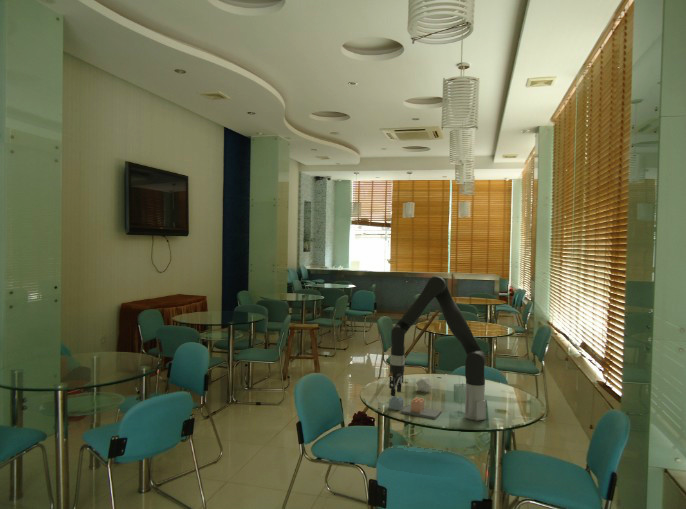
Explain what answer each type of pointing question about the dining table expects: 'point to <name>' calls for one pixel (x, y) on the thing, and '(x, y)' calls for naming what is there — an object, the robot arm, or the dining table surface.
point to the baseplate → (425, 413)
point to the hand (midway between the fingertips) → (396, 393)
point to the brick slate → (396, 403)
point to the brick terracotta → (417, 404)
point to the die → (424, 384)
